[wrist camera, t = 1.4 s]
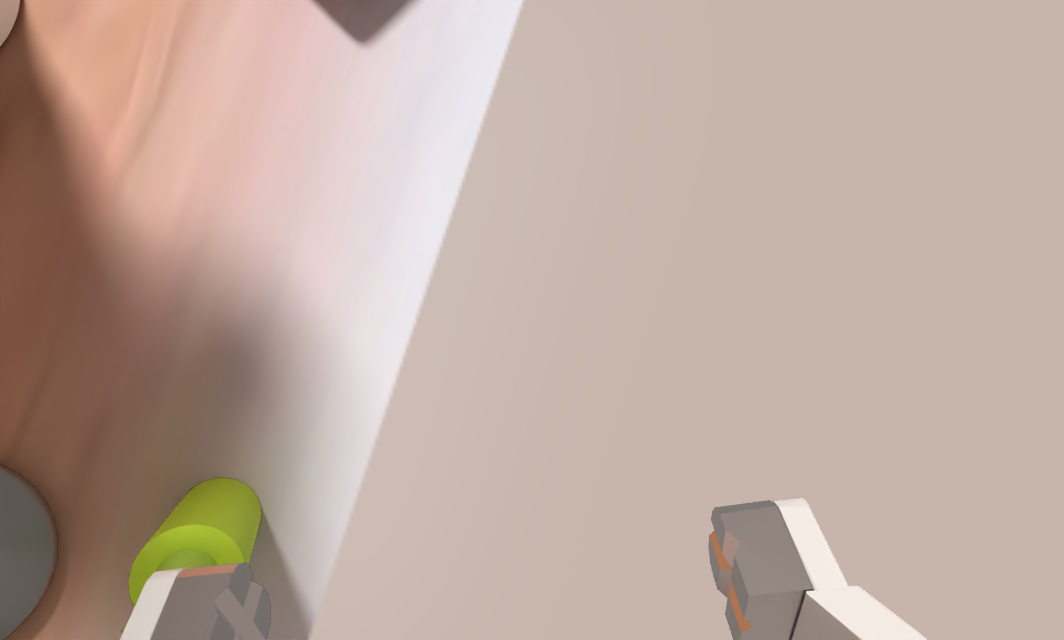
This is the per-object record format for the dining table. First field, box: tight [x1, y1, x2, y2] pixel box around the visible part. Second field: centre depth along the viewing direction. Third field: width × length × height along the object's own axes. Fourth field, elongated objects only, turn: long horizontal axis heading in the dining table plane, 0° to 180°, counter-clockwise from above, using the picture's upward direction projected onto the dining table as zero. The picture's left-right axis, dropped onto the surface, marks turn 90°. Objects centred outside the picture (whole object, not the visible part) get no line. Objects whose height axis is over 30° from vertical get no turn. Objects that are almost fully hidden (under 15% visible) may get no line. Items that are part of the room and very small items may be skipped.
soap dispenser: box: [121, 478, 261, 633], centre depth 39 cm, size 6×7×20 cm
